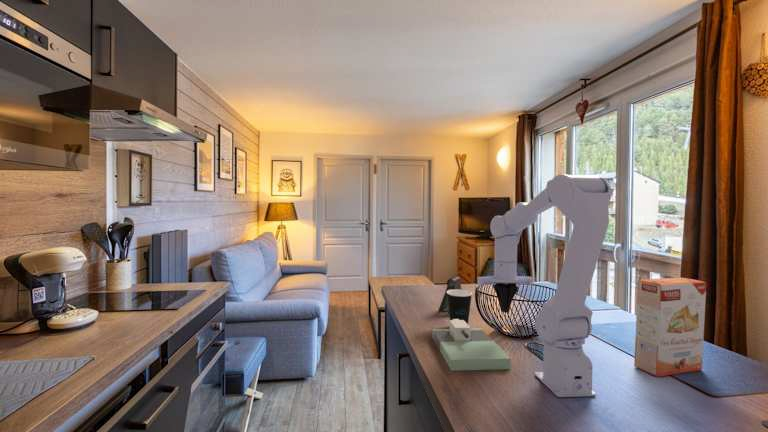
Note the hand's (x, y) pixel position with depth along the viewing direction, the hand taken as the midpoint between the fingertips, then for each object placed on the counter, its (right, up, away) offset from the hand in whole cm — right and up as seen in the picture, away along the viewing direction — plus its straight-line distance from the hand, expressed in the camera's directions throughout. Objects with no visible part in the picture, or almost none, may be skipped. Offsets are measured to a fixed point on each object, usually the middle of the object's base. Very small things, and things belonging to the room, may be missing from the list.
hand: (504, 311), depth 93 cm
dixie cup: (-9, -9, +15) cm, 20 cm away
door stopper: (-7, -9, +32) cm, 34 cm away
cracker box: (+34, -10, -12) cm, 37 cm away
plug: (-12, -9, -1) cm, 15 cm away
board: (-11, -9, -4) cm, 15 cm away
